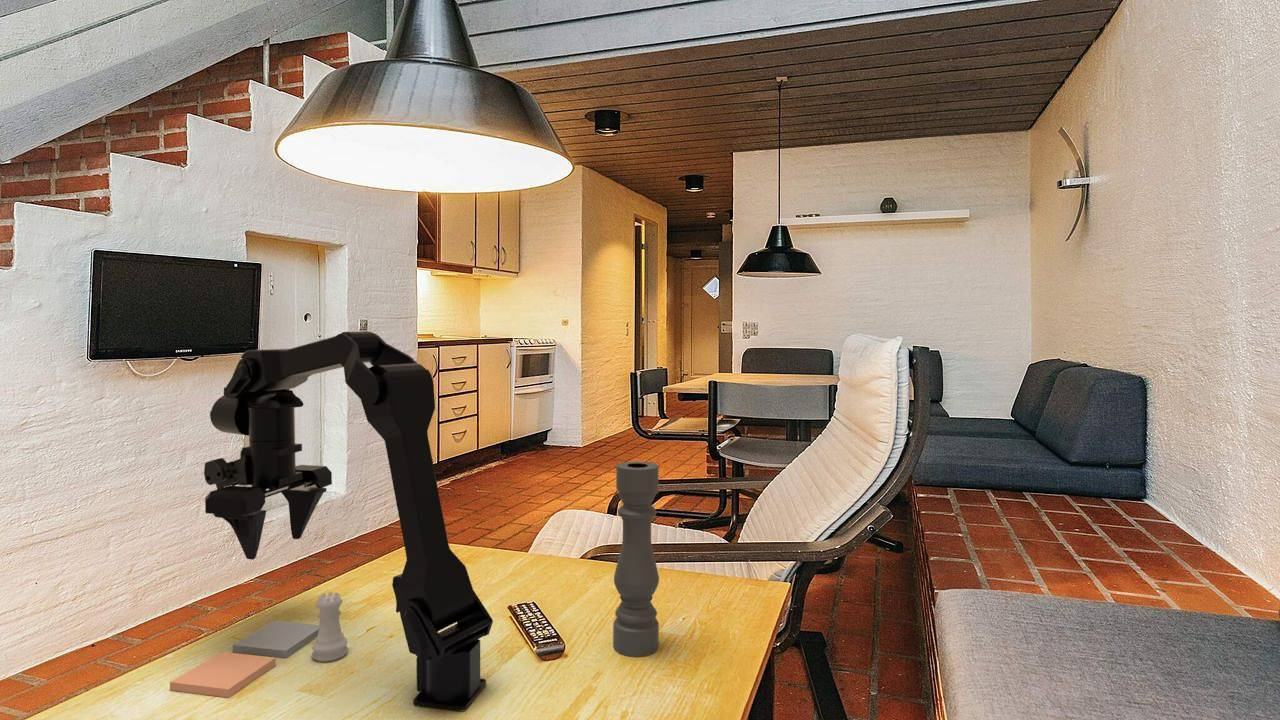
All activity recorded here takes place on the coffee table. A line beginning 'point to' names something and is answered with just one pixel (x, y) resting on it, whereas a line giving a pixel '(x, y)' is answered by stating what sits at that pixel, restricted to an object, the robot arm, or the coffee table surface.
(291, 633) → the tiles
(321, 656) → the rook chess piece
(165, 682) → the coffee table surface
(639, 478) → the candle holder
